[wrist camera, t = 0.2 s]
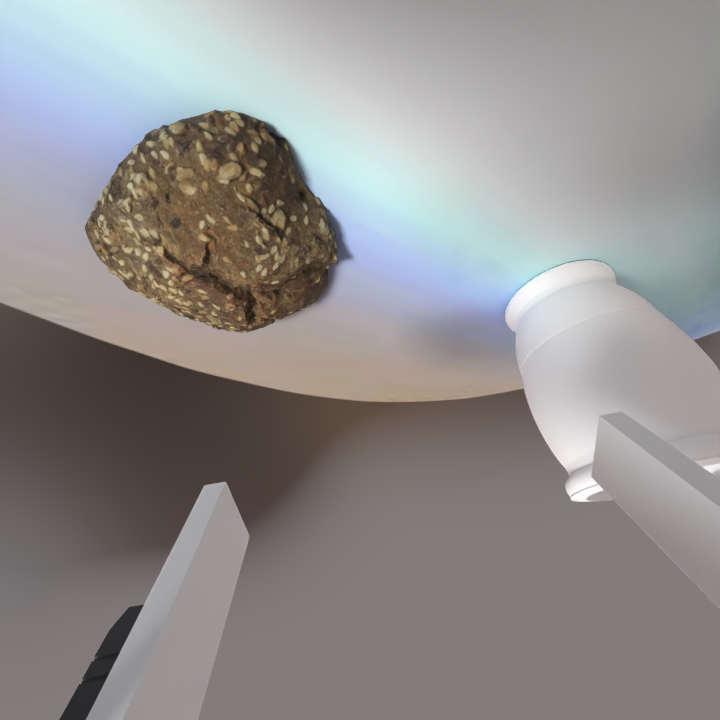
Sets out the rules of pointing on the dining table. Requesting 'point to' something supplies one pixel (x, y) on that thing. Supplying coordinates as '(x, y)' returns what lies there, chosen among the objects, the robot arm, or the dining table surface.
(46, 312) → the dining table surface
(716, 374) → the jar
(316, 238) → the bread roll
